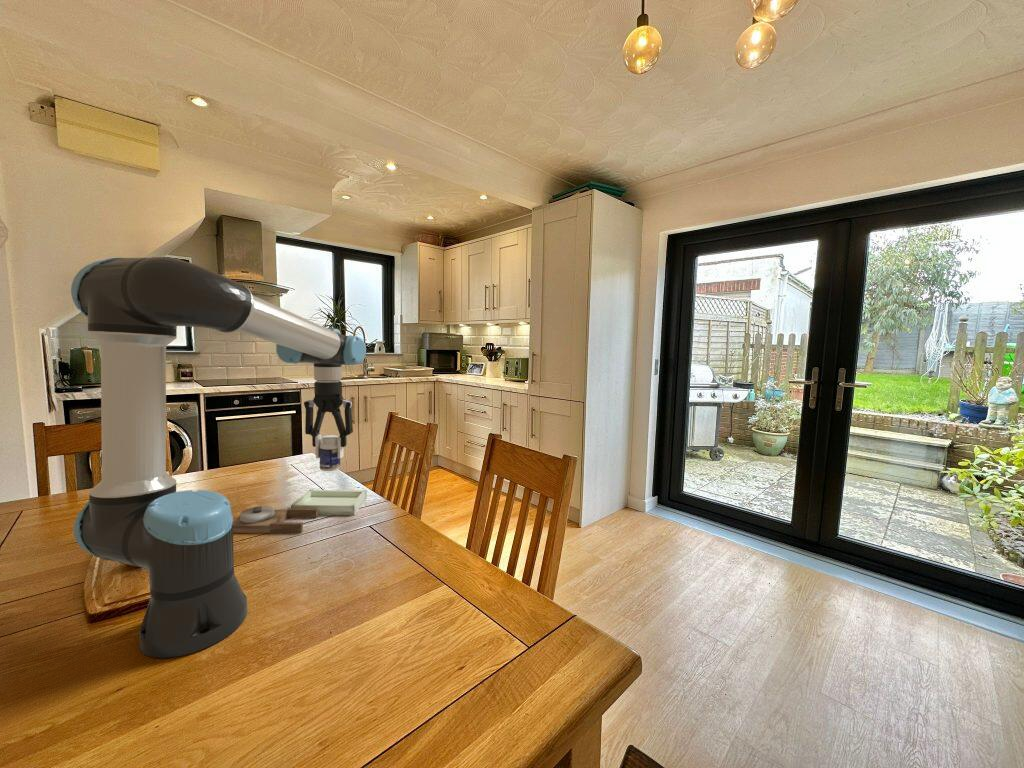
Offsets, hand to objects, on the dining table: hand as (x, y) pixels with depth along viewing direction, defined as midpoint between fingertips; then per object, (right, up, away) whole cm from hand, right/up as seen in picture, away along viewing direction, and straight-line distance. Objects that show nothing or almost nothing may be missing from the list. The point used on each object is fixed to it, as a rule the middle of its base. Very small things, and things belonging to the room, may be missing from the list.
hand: (329, 457), depth 123 cm
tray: (0, -16, +2) cm, 16 cm away
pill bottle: (0, -4, +1) cm, 4 cm away
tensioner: (-10, -17, -11) cm, 22 cm away
